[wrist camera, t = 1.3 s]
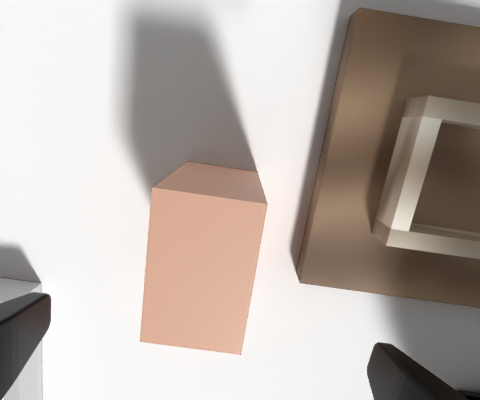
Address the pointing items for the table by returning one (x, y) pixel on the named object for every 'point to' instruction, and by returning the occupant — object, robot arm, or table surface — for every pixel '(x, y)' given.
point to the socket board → (400, 164)
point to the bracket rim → (30, 379)
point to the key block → (202, 257)
